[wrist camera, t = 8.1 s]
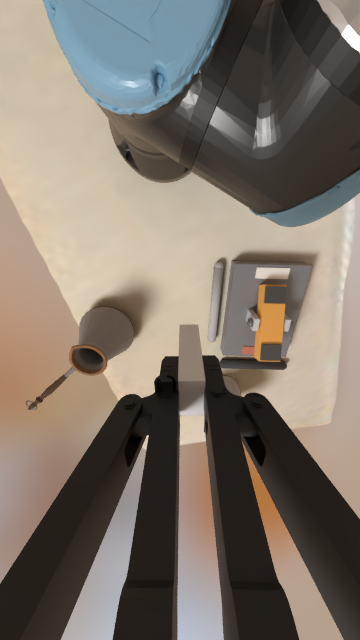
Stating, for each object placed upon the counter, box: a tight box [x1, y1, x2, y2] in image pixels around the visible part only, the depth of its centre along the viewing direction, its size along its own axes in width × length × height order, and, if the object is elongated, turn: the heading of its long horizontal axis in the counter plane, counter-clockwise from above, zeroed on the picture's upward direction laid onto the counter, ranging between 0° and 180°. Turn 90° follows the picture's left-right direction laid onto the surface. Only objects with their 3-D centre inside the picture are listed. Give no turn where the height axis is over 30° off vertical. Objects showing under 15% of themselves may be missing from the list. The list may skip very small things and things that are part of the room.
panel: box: [221, 261, 313, 357], centre depth 41 cm, size 20×14×8 cm
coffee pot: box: [26, 307, 134, 410], centre depth 42 cm, size 21×12×15 cm, turn 128°
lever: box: [254, 284, 287, 362], centre depth 39 cm, size 14×4×3 cm, turn 179°
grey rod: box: [208, 262, 224, 342], centre depth 43 cm, size 18×2×2 cm, turn 179°
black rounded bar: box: [220, 360, 287, 370], centre depth 50 cm, size 2×16×2 cm, turn 89°
